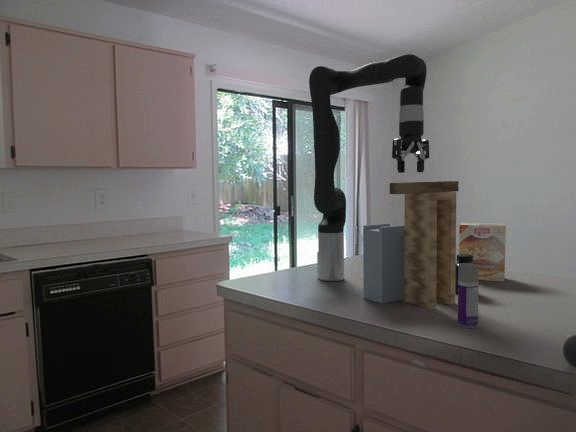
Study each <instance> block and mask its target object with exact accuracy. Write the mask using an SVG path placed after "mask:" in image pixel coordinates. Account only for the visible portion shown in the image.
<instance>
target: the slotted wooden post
mask: <svg viewBox="0 0 576 432" xmlns="http://www.w3.org/2000/svg"><path fill="white" fill-rule="evenodd" d="M404 225H405V231H404V299H403V300H404V302H405V303H408V304H412V305H414V306H415V305H416V306H418V307H421V308H425V309H428V310H434V309H437V302H439V303H444V304H447V305H451V306H452V305H456V294H455V282H456V263H457V261H456V259H457V252H456V251H457V191H456V192H435V193H415V194H404Z"/></svg>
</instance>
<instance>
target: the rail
mask: <svg viewBox="0 0 576 432" xmlns="http://www.w3.org/2000/svg"><path fill="white" fill-rule="evenodd" d="M459 184H460V183H459V180H451V181H450V180H442V181H418V182H417V181H413V182H412V181H411V182H408V181H407V182H389V195H405V194H415V193H435V192H456V193H457V192H459Z"/></svg>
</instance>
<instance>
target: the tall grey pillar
mask: <svg viewBox="0 0 576 432" xmlns="http://www.w3.org/2000/svg"><path fill="white" fill-rule="evenodd" d="M362 227H363V229H362V230H363V231H362V233H363V234H362V235H363V237H362V240H363V245H362V247H363V249H362V250H363V252H362V253H363V260H362V261H363V299H366V300H368V301H372V302H376V303H379V304H381V305H382V304H388V303H392V302H396V301H402V300H404V231H405V224H401V225H391V223H389V222H388V223H377V224H376V223H375V224H374V223H373V224H365V225H363V226H362Z"/></svg>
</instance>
